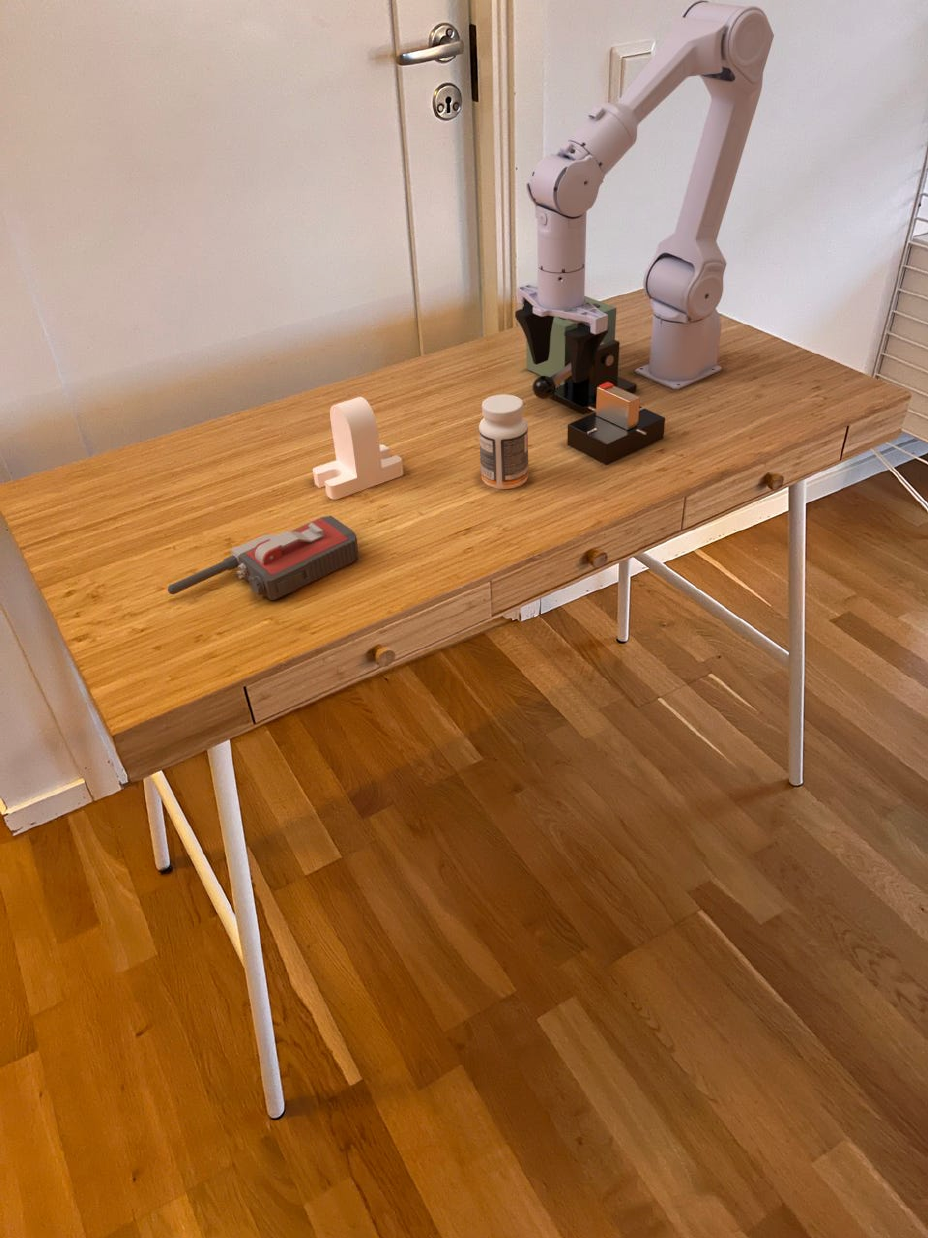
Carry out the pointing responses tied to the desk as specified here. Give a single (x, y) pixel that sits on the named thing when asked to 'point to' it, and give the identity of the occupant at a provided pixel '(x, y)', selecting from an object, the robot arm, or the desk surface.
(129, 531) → the desk surface
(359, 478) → the white phone stand
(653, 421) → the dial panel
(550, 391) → the lever
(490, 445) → the pill bottle
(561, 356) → the toaster
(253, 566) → the walkie-talkie
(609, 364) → the lever bracket
